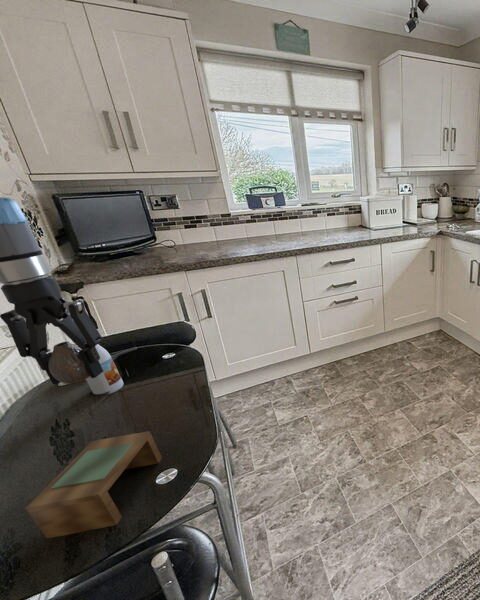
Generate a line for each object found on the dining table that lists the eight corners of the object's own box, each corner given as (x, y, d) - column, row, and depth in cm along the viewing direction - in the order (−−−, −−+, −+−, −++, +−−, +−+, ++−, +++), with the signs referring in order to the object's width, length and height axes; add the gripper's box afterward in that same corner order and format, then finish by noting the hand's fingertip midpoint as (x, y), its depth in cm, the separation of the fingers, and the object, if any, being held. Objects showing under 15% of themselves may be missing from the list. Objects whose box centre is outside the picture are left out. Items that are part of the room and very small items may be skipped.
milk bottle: (103, 399, 102) (74, 342, 95) (89, 395, 105) (60, 340, 98) (129, 384, 109) (104, 330, 102) (115, 381, 112) (90, 329, 105)
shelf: (46, 539, 60) (24, 507, 57) (107, 468, 75) (91, 440, 72) (116, 525, 61) (98, 493, 58) (162, 457, 76) (149, 430, 73)
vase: (60, 379, 73) (40, 345, 70) (99, 366, 77) (83, 333, 74) (56, 392, 68) (35, 355, 65) (99, 377, 72) (81, 342, 69)
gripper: (95, 268, 69) (136, 361, 77) (-11, 281, 67) (43, 376, 75) (67, 277, 62) (116, 379, 70) (-52, 292, 60) (13, 396, 68)
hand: (78, 377), depth 73 cm, fingers closed on vase, 7 cm apart
